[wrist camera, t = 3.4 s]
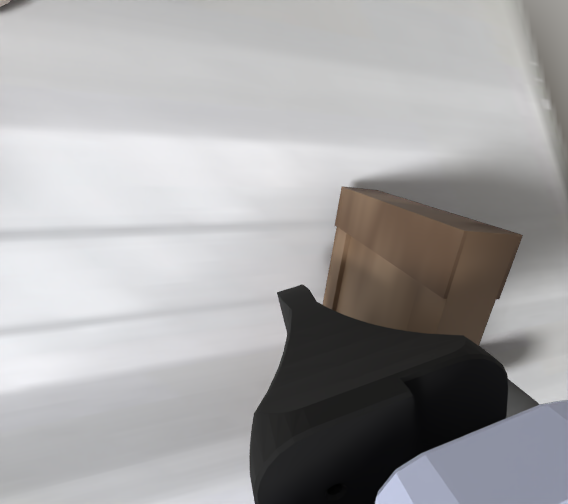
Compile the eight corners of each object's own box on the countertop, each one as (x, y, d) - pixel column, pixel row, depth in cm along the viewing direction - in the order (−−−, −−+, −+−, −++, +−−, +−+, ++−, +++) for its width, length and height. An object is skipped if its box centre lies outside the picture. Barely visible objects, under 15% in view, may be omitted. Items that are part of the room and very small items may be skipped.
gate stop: (478, 371, 20) (541, 424, 16) (444, 388, 20) (500, 446, 16) (473, 342, 19) (539, 392, 15) (438, 360, 19) (495, 415, 15)
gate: (320, 454, 18) (380, 618, 12) (293, 457, 17) (340, 629, 11) (377, 190, 13) (522, 235, 7) (341, 186, 13) (464, 231, 7)
